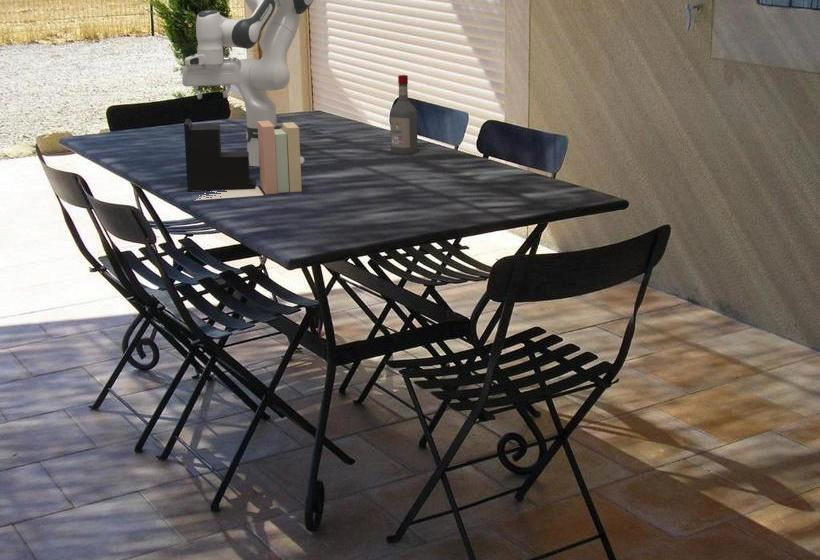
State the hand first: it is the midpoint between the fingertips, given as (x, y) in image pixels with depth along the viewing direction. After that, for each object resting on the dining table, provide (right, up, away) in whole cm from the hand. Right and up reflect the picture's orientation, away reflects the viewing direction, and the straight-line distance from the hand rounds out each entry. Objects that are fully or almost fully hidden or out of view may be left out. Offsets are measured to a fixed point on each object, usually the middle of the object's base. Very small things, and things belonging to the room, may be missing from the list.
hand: (212, 98), depth 425 cm
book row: (+24, -32, -6) cm, 41 cm away
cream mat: (+6, -34, -11) cm, 36 cm away
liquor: (+67, -14, +53) cm, 86 cm away
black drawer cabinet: (+4, -31, -2) cm, 32 cm away
